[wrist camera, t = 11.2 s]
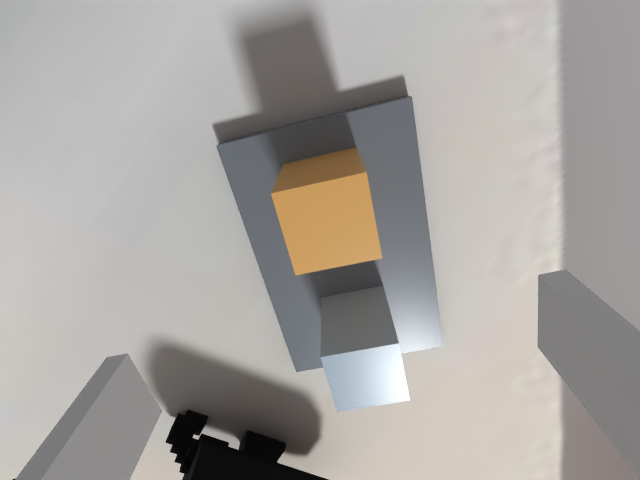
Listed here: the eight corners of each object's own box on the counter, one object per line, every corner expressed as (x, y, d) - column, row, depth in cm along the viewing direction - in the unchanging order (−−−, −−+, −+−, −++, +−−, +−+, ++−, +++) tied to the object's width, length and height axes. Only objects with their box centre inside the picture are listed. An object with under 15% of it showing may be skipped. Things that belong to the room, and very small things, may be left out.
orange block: (283, 163, 27) (270, 193, 20) (356, 147, 26) (366, 172, 20) (301, 230, 29) (295, 275, 23) (369, 216, 28) (382, 258, 22)
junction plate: (220, 142, 27) (180, 170, 20) (408, 95, 26) (443, 106, 18) (297, 362, 36) (289, 440, 29) (439, 337, 35) (472, 412, 27)
